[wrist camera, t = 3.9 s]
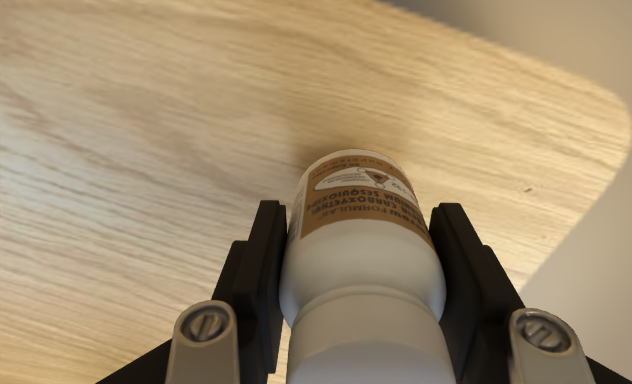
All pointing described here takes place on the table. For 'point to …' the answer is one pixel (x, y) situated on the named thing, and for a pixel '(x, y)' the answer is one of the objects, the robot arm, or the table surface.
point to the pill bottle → (362, 278)
